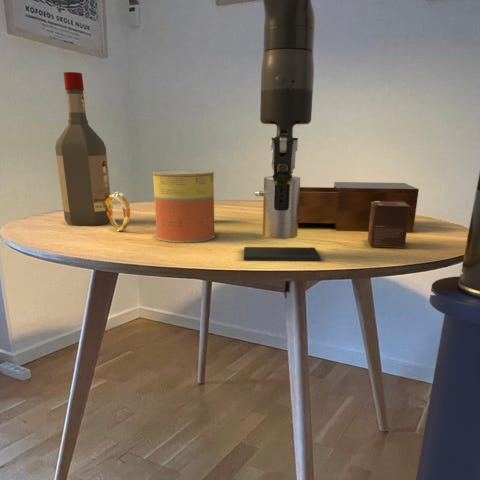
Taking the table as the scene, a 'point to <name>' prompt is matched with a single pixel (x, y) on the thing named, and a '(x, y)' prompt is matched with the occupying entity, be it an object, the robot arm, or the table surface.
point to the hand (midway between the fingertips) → (282, 206)
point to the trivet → (281, 253)
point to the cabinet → (359, 202)
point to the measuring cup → (276, 220)
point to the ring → (125, 206)
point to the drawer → (318, 205)
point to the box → (388, 224)
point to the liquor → (81, 162)
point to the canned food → (184, 205)
